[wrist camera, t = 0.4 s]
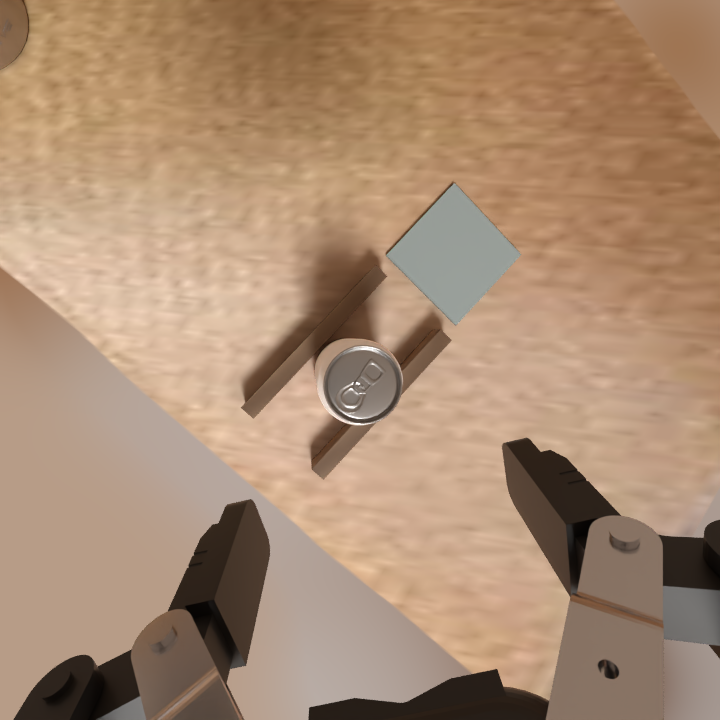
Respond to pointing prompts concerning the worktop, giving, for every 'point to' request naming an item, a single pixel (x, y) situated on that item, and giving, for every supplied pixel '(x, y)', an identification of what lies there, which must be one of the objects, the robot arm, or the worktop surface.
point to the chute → (310, 346)
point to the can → (358, 380)
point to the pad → (454, 254)
